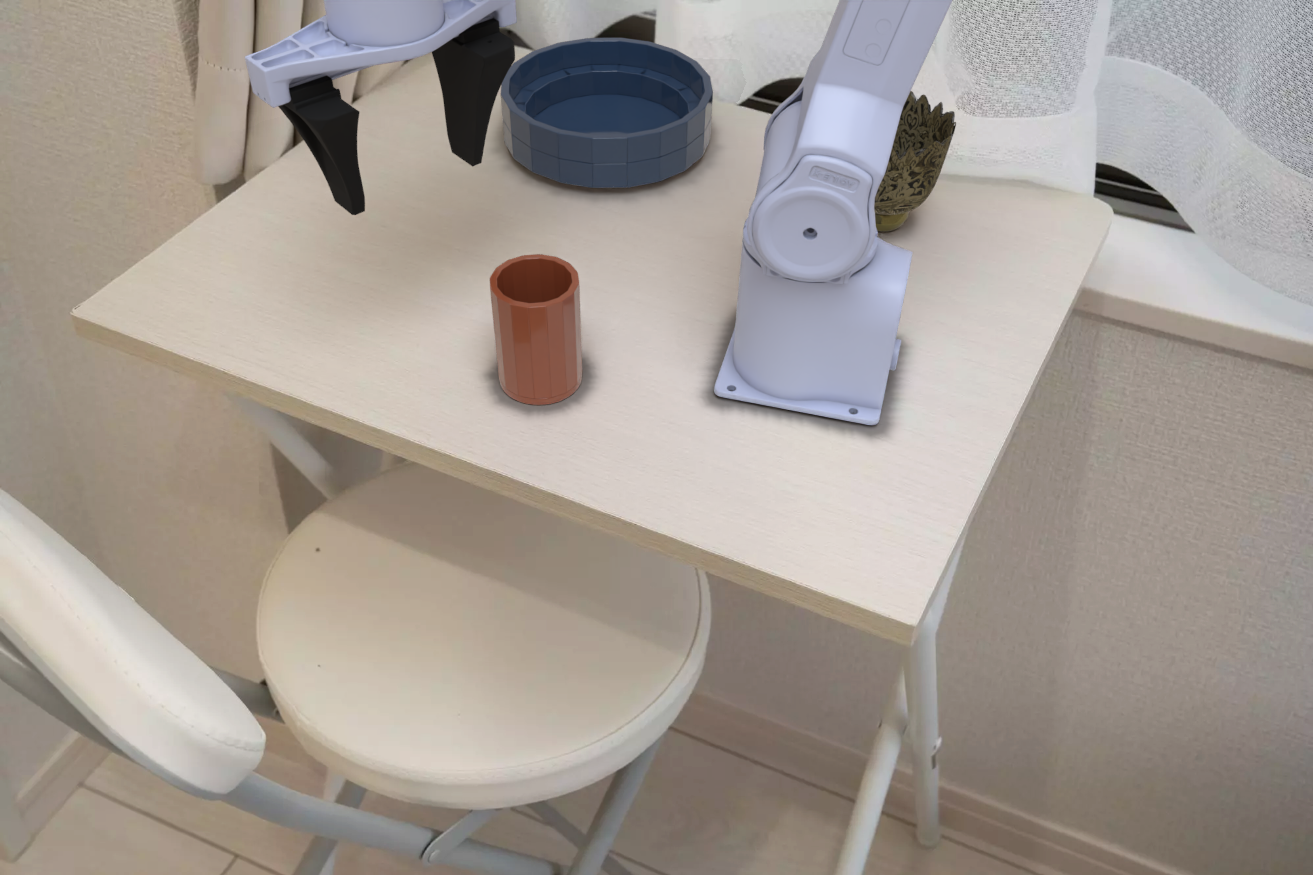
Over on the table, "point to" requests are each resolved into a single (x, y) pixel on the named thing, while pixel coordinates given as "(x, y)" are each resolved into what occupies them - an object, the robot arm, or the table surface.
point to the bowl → (606, 112)
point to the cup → (537, 328)
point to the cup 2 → (913, 161)
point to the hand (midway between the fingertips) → (410, 181)
